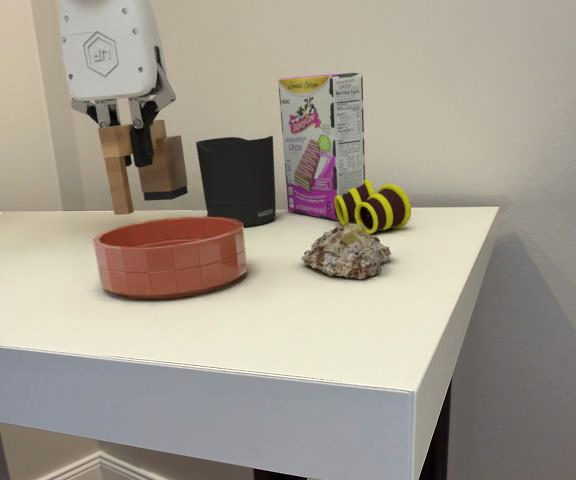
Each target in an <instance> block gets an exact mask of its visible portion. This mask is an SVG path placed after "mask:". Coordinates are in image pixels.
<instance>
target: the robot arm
mask: <svg viewBox="0 0 576 480" xmlns="http://www.w3.org/2000/svg"><path fill="white" fill-rule="evenodd" d="M59 33H60V35H59V36H60V44H61V45H60V46H61V54H62V60H63V68H64V73H65V79H66V84H67V89H68V93H69V95H70V96H71V102H70V107H71V108H72V110H74V111H75V112H77V113H81V114H82V115H86V116H88V117H90V118H91V119H92V120H93V121H94V123H96V125H98V128H104V127H111V126H117V125H122V123H121V117H120V111H119V104H118V99H127V101H128V106H129V112H130V118H131V123H132V124H133V129H131V130H130V138H131V144H132V150H133V154H131V155H127V156H124V158H125V163H126V168H127V167H131V165H132V163H134V164H133V165H134V166H135V167H136V168H137V169H138V168H140V167H145V166H149V165H152V164H153V159H152V158H153V156H154V151H153V145H152V138H151V132H150V127H151V126H152V125H153V123H154V120H156V118H157V116H158V115H159V113H160V111H162V110H163V109H165V108H166V107H167V106H169V105H171V104H173V103H174V102H175V101H176V99H177V96H176V93H175V91H174V89H173V88H172V85H171V83H170V82H169V79H168V72H167V65H166V58H165V56H164V55H165V54H164V49H163V45H162V39H161V35H160V31H159V26H158V23H157V19H156V16H155V12H154V10H153V6H152V4H151V0H59ZM150 96H153V97H152V98H151V97H150ZM93 101H94V102H93ZM132 157H133V158H132ZM132 159H133V161H132Z"/></svg>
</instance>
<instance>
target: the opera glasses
mask: <svg viewBox="0 0 576 480" xmlns="http://www.w3.org/2000/svg"><path fill="white" fill-rule="evenodd" d="M334 202H335V208H336V212H337V215H338V218H339V220H338V221H339V223H340V225H346V224H350V223H358V224H362V226H363V227H364V228H365V230H366V232H367V233H369V234H370V235H371V234H373V233H375V232H379V231H386V230H388V229H390V228H391V229H394V230H395V229H396V230H397V229H401V228H403V227H405V226H406V225H407V224H408V222H409V221H410V219H411V217H412V216H411V215H412V205H411V201H410V199H409V196H408V195H407V194H406V192H405V191H404V190H403V189H402V187H401V188H400V187H399V186H398V185H396V184H392V183H387V184H386V183H385V184H383V185H382V186H380V187H379V188H378V189H377V191H376V192H375V189H374V187H373V184H372V182H371V180H370V179H366V178H365V180H364V182H363V185H361V186H359V187H357V188H356V189H355V188H352V189H350V190H349V191H348V192H347V194H346V193H344V194H343V196H340V195H338V196H336V197H335V199H334Z"/></svg>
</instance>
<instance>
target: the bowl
mask: <svg viewBox="0 0 576 480" xmlns="http://www.w3.org/2000/svg"><path fill="white" fill-rule="evenodd" d="M91 241H92V246H93V252H94V257H95V261H96V268H97V273H98V279H99V282H100V286H101V287H102V289H103V290H107V291H109V292H111V293H115V294H117V295H118V296H119V295H120V296H122V297H126V298H131V299H139V300H141V299H143V300H156V299H157V300H160V299H174V298H182V297H189V296H195V295H199V294H204V293H208V292H211V291H215V290H218V289H220V288H223V287H226V286H227V285H230V284H231V283H233V282H234V281H235V280H236V279H239V278H240V277H241V276H242V275H244V274H245V273H247V271H248V258H247V247H246V246H247V245H246V237H245V227H244V226H243V223H242V222H240V221H238V220H236V219H231V218H225V217H209V216H208V215H207V216H206V215H205V216H183V217H180V216H179V217H170V218H169V217H168V218H162V219H154V220H146V221H140V222H136V223H130V224H126V225H121V226H117V227H114V228H111V229H108V230H105V231H103V232H100V233H98V234H96V235H95V236H94V237H93V238H92V239H91Z"/></svg>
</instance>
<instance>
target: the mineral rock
mask: <svg viewBox="0 0 576 480" xmlns="http://www.w3.org/2000/svg"><path fill="white" fill-rule="evenodd" d="M310 246H311V247H310V249H307V250H305V251H304V252H303V255H302V256H301V261H303V264H304V265H307V266H310V267H311V268H312V269H314V270H320V271H321V273H323V274H327V276H330V277H331V276H334V277H335V276H336V277H345V278H347V279H357V280H364V279H366V278H367V277H372V276H376V275H378V274H380V271H381V270H382V267H381V265H382V264H385V263H387V262H388V260H389V258H390V256H391V254H392V252H391V249H390V246H385V245H384V244H382V243H381V240H380V239H379V237H378V236H373V235H371V234H369V233H367V232H366V230H365V228H364V227H363V226H362V224H358V223H356V222H353V223H350V222H349V223H348V224H346V225H342V224H339V225H338V226H337V225H336V226H335V227H333V229H330V230H328V231H325V232H323V234H322V235H321V236H320V237H318V238H316V240H315V241H314V242H313V243H312V244H311V245H310Z"/></svg>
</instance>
